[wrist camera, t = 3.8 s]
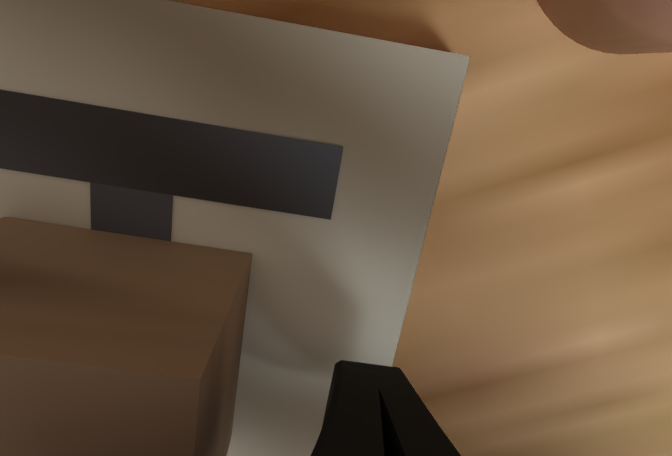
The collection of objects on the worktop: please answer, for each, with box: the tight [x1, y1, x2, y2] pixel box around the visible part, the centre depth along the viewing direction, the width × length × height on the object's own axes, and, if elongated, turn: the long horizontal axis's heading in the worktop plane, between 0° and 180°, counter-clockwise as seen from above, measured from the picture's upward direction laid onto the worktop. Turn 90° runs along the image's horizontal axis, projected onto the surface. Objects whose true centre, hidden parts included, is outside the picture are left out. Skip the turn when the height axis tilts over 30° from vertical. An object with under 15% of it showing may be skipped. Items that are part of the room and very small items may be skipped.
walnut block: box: [0, 217, 252, 456], centre depth 8 cm, size 5×5×4 cm
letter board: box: [0, 0, 470, 456], centre depth 11 cm, size 16×12×1 cm
